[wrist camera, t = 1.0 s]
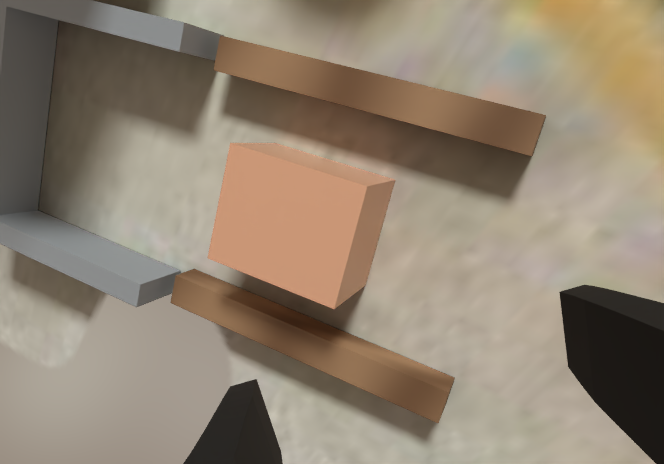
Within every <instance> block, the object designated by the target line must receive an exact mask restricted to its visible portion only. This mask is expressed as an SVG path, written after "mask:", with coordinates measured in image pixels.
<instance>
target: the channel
mask: <svg viewBox="0 0 664 464" xmlns="http://www.w3.org/2000/svg"><path fill="white" fill-rule="evenodd" d="M214 70H215V71H218V72H222V73H226V74H230V75H233V76H237V77H241V78H244V79H248V80H252V81H255V82H259V83H263V84H267V85H270V86H274V87H278V88H281V89H285V90H289V91H292V92H296V93H300V94H303V95H307V96H311V97H315V98H318V99H322V100H326V101H329V102H333V103H337V104H340V105H344V106H348V107H352V108H355V109H359V110H363V111H366V112H370V113H374V114H377V115H381V116H385V117H389V118H392V119H396V120H400V121H403V122H407V123H411V124H414V125H418V126H422V127H425V128H429V129H433V130H437V131H440V132H444V133H448V134H451V135H455V136H459V137H462V138H466V139H470V140H474V141H477V142H481V143H485V144H488V145H492V146H496V147H499V148H503V149H507V150H511V151H514V152H518V153H522V154H525V155H529V156H532V155H533V153H534V150H535V147H536V144H537V141H538V138H539V135H540V133H541V130H542V127H543V124H544V121H545V118H546V115H543V114H539V113H535V112H530V111H526V110H522V109H518V108H514V107H510V106H506V105H502V104H498V103H494V102H490V101H486V100H481V99H477V98H473V97H469V96H465V95H461V94H457V93H453V92H449V91H445V90H441V89H436V88H432V87H428V86H424V85H420V84H416V83H412V82H408V81H404V80H400V79H396V78H391V77H387V76H383V75H379V74H375V73H371V72H367V71H363V70H359V69H355V68H351V67H347V66H342V65H338V64H334V63H330V62H326V61H322V60H318V59H314V58H310V57H306V56H302V55H297V54H293V53H289V52H285V51H281V50H277V49H273V48H269V47H265V46H261V45H257V44H253V43H248V42H244V41H240V40H236V39H232V38H228V37H224V36H220V38H219V44H218V49H217V54H216V60H215V65H214ZM171 303H172V304H174V305H176V306H179V307H181V308H183V309H185V310H188V311H190V312H192V313H194V314H197V315H199V316H201V317H203V318H205V319H208V320H210V321H212V322H214V323H216V324H219V325H221V326H223V327H225V328H228V329H230V330H232V331H234V332H236V333H239V334H241V335H243V336H245V337H247V338H250V339H252V340H254V341H256V342H259V343H261V344H263V345H265V346H267V347H270V348H272V349H274V350H276V351H279V352H281V353H283V354H285V355H287V356H290V357H292V358H294V359H296V360H299V361H301V362H303V363H305V364H307V365H310V366H312V367H314V368H316V369H319V370H321V371H323V372H325V373H327V374H330V375H332V376H334V377H336V378H339V379H341V380H343V381H345V382H347V383H350V384H352V385H354V386H356V387H359V388H361V389H363V390H365V391H367V392H370V393H372V394H374V395H376V396H379V397H381V398H383V399H385V400H387V401H390V402H392V403H394V404H396V405H399V406H401V407H403V408H405V409H407V410H410V411H412V412H414V413H416V414H419V415H421V416H423V417H425V418H427V419H430V420H432V421H434V422H436V423H439V420H440V418H441V415H442V413H443V410H444V408H445V405H446V402H447V399H448V396H449V393H450V390H451V388H452V385H453V382H454V379H455V378H454V377H452V376H449V375H447V374H444V373H442V372H440V371H437V370H435V369H432V368H430V367H428V366H425V365H423V364H420V363H418V362H416V361H413V360H411V359H408V358H406V357H404V356H401V355H399V354H397V353H394V352H392V351H389V350H387V349H385V348H382V347H380V346H377V345H375V344H373V343H370V342H368V341H365V340H363V339H361V338H358V337H356V336H353V335H351V334H349V333H346V332H344V331H342V330H339V329H337V328H334V327H332V326H330V325H327V324H325V323H322V322H320V321H318V320H315V319H313V318H310V317H308V316H306V315H303V314H301V313H298V312H296V311H294V310H291V309H289V308H286V307H284V306H282V305H279V304H277V303H275V302H272V301H270V300H267V299H265V298H263V297H260V296H258V295H255V294H253V293H251V292H248V291H246V290H243V289H241V288H239V287H236V286H234V285H231V284H229V283H227V282H224V281H222V280H220V279H217V278H215V277H212V276H210V275H208V274H205V273H203V272H200V271H198V270H196V269H193V270H190V271H187V272H184V273H181V274H178V275H176V276H175V282H174V287H173V292H172V298H171Z"/></svg>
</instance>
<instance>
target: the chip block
mask: <svg viewBox="0 0 664 464" xmlns="http://www.w3.org/2000/svg"><path fill="white" fill-rule="evenodd" d="M394 183H395V180H394V179H391V178H388V177H384V176H381V175H378V174H375V173H371V172H368V171H365V170H361V169H358V168H355V167H352V166H348V165H345V164H342V163H339V162H335V161H332V160H329V159H326V158H322V157H319V156H316V155H313V154H309V153H306V152H303V151H299V150H296V149H293V148H290V147H286V146H283V145H280V144H277V143H230V148H229V153H228V158H227V163H226V168H225V173H224V178H223V183H222V188H221V193H220V198H219V203H218V208H217V213H216V218H215V223H214V228H213V233H212V238H211V243H210V248H209V253H208V259H211V260H213V261H216V262H218V263H221V264H223V265H226V266H228V267H231V268H233V269H236V270H238V271H241V272H243V273H246V274H248V275H250V276H253V277H255V278H258V279H260V280H263V281H265V282H268V283H270V284H273V285H275V286H278V287H280V288H283V289H285V290H288V291H290V292H292V293H295V294H297V295H300V296H302V297H305V298H307V299H310V300H312V301H315V302H317V303H320V304H322V305H325V306H327V307H330V308H332V309H335V308H337V307H338V306H339V305H340V304H342V303H343V302H344V301H346V300H347V299H348V298H350V297H351V296H352V295H354V294H355V293H356V292H358V291H359V290H360V289H362V288H363V287H364V286H366V282H367V279H368V275H369V271H370V268H371V264H372V261H373V257H374V254H375V250H376V247H377V243H378V240H379V236H380V233H381V229H382V226H383V222H384V218H385V215H386V211H387V208H388V204H389V201H390V197H391V194H392V190H393V187H394Z"/></svg>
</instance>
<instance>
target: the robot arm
mask: <svg viewBox="0 0 664 464" xmlns="http://www.w3.org/2000/svg"><path fill="white" fill-rule="evenodd" d="M560 300H561V308H562V317H563V325H564V334H565V343H566V351H567V360H568V367H569V369H570V370H571V371H572V373H573V374H574V375H575V377H576V378H577V379H578V381H579V382H580V384H581V385H582V386H583V388H584V389H585V390H586V391H587V393H588V394H589V395H590V396H591V398H592V399H593V400H594V402H595V403H596V404H597V405H598V406H599V407H600V408H601V409H602V410H603V411H604V412H605V413H606V414H607V415H608V416H609V417H610V418H611V419H612V420H613V421H614V422H615V423H616V424H617V425H618V426H619V427H620V428H621V429H622V430H623V431H624V432H625V433H626V434H627V435H628V436H629V437H630V438H631V439H632V440H633V441H634V442H635V443H636V444H637V445H638V446H639V447H640V448H641V449H642V450H643V451H644V452H645V453H646V454H647V455H648V456H649V457H650V458H651V459H652V460H653V461H654V462H655V463H656V464H664V303H661V302H657V301H653V300H649V299H645V298H641V297H637V296H633V295H629V294H625V293H621V292H617V291H613V290H609V289H605V288H600V287H595V286H589V285H582V286H579V287H575V288H572V289H568V290H565V291H561V292H560ZM184 464H283V463H282V455H281V450H280V447H279V444H278V441H277V438H276V435H275V432H274V430H273V427H272V424H271V421H270V418H269V415H268V412H267V409H266V406H265V403H264V400H263V397H262V394H261V391H260V388H259V385H258V382H257V379H255V380H252V381H248V382H245V383H241V384H238V385H234V386H231V387H230V388H229V389H228V391H227V393H226V394H225V396H224V398H223V399H222V401H221V403H220V405H219V406H218V408H217V410H216V412H215V413H214V415H213V417H212V419H211V420H210V422H209V424H208V425H207V427H206V429H205V431H204V432H203V434H202V435H201V437H200V439H199V441H198V442H197V444H196V446H195V447H194V449H193V450H192V452H191V453H190V455H189V456H188V458H187V459H186V461H185V462H184Z"/></svg>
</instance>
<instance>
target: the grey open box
mask: <svg viewBox="0 0 664 464" xmlns="http://www.w3.org/2000/svg"><path fill="white" fill-rule="evenodd" d="M59 20H60V21H64V22H68V23H72V24H75V25H79V26H83V27H87V28H91V29H94V30H98V31H102V32H106V33H110V34H113V35H117V36H121V37H125V38H128V39H132V40H136V41H140V42H144V43H147V44H151V45H155V46H159V47H163V48H166V49H170V50H174V51H178V52H182V53H186V54H190V55H194V56H198V57H202V58H206V59H210V60H214V61H215V60H216V54H217V49H218V44H219V38H220V36H223V35H220V34H217V33H214V32H211V31H208V30H205V29H202V28H199V27H196V26H193V25H190V24H187V23H184V22H180V21H176V20H172V19H168V18H163V17H159V16H155V15H151V14H147V13H143V12H139V11H134V10H130V9H126V8H122V7H118V6H114V5H110V4H105V3H101V2H97V1H93V0H0V244H2V245H4V246H6V247H8V248H10V249H12V250H15V251H17V252H19V253H21V254H23V255H25V256H27V257H30V258H32V259H34V260H36V261H38V262H40V263H42V264H45V265H47V266H49V267H51V268H53V269H55V270H58V271H60V272H62V273H64V274H66V275H68V276H70V277H73V278H75V279H77V280H79V281H81V282H83V283H85V284H88V285H90V286H92V287H94V288H96V289H98V290H101V291H103V292H105V293H107V294H109V295H111V296H113V297H116V298H118V299H120V300H122V301H124V302H126V303H128V304H131V305H133V306H135V307H138V306H141V305H144V304H146V303H149V302H151V301H154V300H156V299H159V298H161V297H164V296H166V295H169V294H171V293H172V292H173V287H174V282H175V276H176V275H178V274H180V270H178V269H175V268H173V267H170V266H168V265H166V264H163V263H161V262H159V261H156V260H154V259H152V258H149V257H147V256H145V255H142V254H140V253H137V252H135V251H133V250H130V249H128V248H126V247H123V246H121V245H119V244H116V243H114V242H111V241H109V240H107V239H104V238H102V237H100V236H97V235H95V234H93V233H90V232H88V231H85V230H83V229H81V228H78V227H76V226H74V225H71V224H69V223H67V222H64V221H62V220H60V219H57V218H55V217H52V216H50V215H48V214H45V213H43V212H41V211H38V204H39V195H40V186H41V177H42V167H43V158H44V149H45V140H46V131H47V122H48V112H49V103H50V94H51V85H52V76H53V67H54V58H55V48H56V39H57V30H58V21H59Z"/></svg>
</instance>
